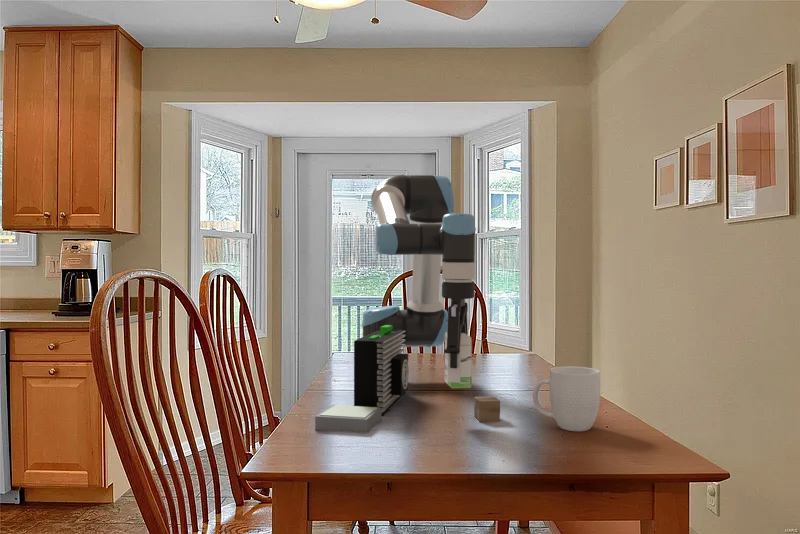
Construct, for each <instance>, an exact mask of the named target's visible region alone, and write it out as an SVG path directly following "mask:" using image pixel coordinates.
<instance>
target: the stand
mask: <svg viewBox="0 0 800 534" xmlns="http://www.w3.org/2000/svg"><path fill="white" fill-rule="evenodd" d="M382 418H383V416H382V408H379V407H362V406H354V405H344V404H333V405H331V406H329V407H328V408H326V409H324V410H322V412H319V413H318V414H317V415H315V416H314V422H315V423H314V428H315V429H314V430H315V431H329V432H342V433H356V434H357V433H358V434H368V433H369V432H370V431H371V430H373V428H375V427H376V426H377V425H379V423H381V421H382Z"/></svg>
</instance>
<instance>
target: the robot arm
mask: <svg viewBox="0 0 800 534" xmlns="http://www.w3.org/2000/svg"><path fill="white" fill-rule="evenodd" d="M370 201H371V202H370V203H371V207H372V209H373V211H374V213H375V214H377V217H378V221H379V224H377V225H376V226H375V231H374V232H375V233H374V234H375V235H374V236H375V237H374V240H375V241H374V244H375V245H374V246H375V251H376V253H377V254H378V255H388V256H394V255H395V256H399V255H400V256H401V255H403V256H405V255H407V256H410V255H411V256H412V255H413V258H412V259H413V260H412V283H411V284H412V286H411V288H412V289H411V299H410V300H409V301H408V302H407V304H406V309H401V308H400V305H397V304H396V305H386V306H379V307H371V308H368V309H366V310H364V312H363V314H362V324H361V326H362V337H364V336H366V335H369V334H371V333H373V332H376V331H380V327H382V326H384V325H393V331H398V330H405V332H404V333H402V334H400V335H405V337H403V338H402V339H403V340H405V341H404V342H403V343H401V344H405V346H404V347H403V348H406V347H407V348H409V347H410V348H412V347H413V348H414V347H418V348H421V347H422V348H424V347H426V348H431V347H440V346H442V345H443V344H444V343H445V332H447V348H446V350H445V349H444V354H445V353H448V382H455V383H460V372H461V353H459V352H460V339H461V333H465V334H467V335H468V336H469V331H468V311H469V310H468V302H466V300H469V299H473V298H475V289H476V287H475V285H476V283H475V282H474V281H473V280H475V279H476V262H475V259H476V257H475V255H476V249H475V248H476V245H475V243H476V229H477V228H476V220H475V217H474V215H473V214H471V213H454V212H455V197H454V190H453V185H452V182H451V180H450V179H449V177H448V176H444V175H436V174H424V175H423V174H421V175H419V174H418V175H417V174H414V175H413V174H411V175H410V174H409V175H408V174H407V175H406V174H405V175H404V174H397V175H393V176H390V177H388V178H386V179H384V180H382V181H381V182H380V183H378V184H377V186H376V187H375V188H374V189H373V191H372V193H371V200H370ZM408 215H409V217H408ZM410 222H411V223H410ZM441 263H442V264H441ZM441 271H442V272H441ZM441 275H442V276H441ZM441 277H442V278H441ZM441 279H443V281H442V283H441ZM440 286H441V297H442V298H444V299H450V300H451V301H450V306H448V308H447V310H446V309H444V304H443V302H441V301H440Z"/></svg>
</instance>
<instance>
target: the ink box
mask: <svg viewBox="0 0 800 534" xmlns="http://www.w3.org/2000/svg"><path fill="white" fill-rule="evenodd" d="M447 332H448V331H447ZM447 332H445V341H444V351H445V350H446V348H447ZM472 342H473V340H472V337H471V336H470V335H469V334H468V335H467V334H465V333H461V339H460V352H459V353H461V372H460V383H455V382H448V353H445V352H444V382H445V384H447V386H448V387H450V388H451V389H472V387H473V386H472V385H473V384H472V383H473V382H472V381H473V380H472V378H473V377H472V375H473V374H472V373H473V372H472V370H473V369H472V368H473V367H472V364H473V363H472V362H473V361H472V357H473V356H472V345H473V344H472Z"/></svg>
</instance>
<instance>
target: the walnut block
mask: <svg viewBox="0 0 800 534" xmlns="http://www.w3.org/2000/svg"><path fill="white" fill-rule="evenodd" d="M473 402H474V404H473V405H474V408H473V409H474V410H473V412H474V413H473V415H474V416H473V417H475V418H476V419H477V420H478V421H479V422H478V421H477V420H476V419H475V418H474V419H475V420H476V421H477V422H478V423H500V422H501V400H500V399H499V398H497V397H496V396H474V401H473Z"/></svg>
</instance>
